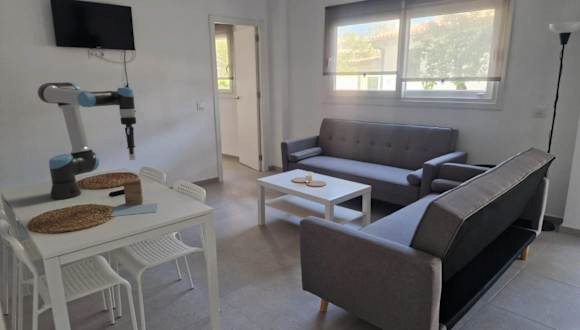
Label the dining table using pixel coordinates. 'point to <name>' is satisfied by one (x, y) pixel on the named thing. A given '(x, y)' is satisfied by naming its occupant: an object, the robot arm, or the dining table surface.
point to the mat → (134, 209)
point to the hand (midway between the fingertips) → (132, 159)
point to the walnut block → (133, 192)
